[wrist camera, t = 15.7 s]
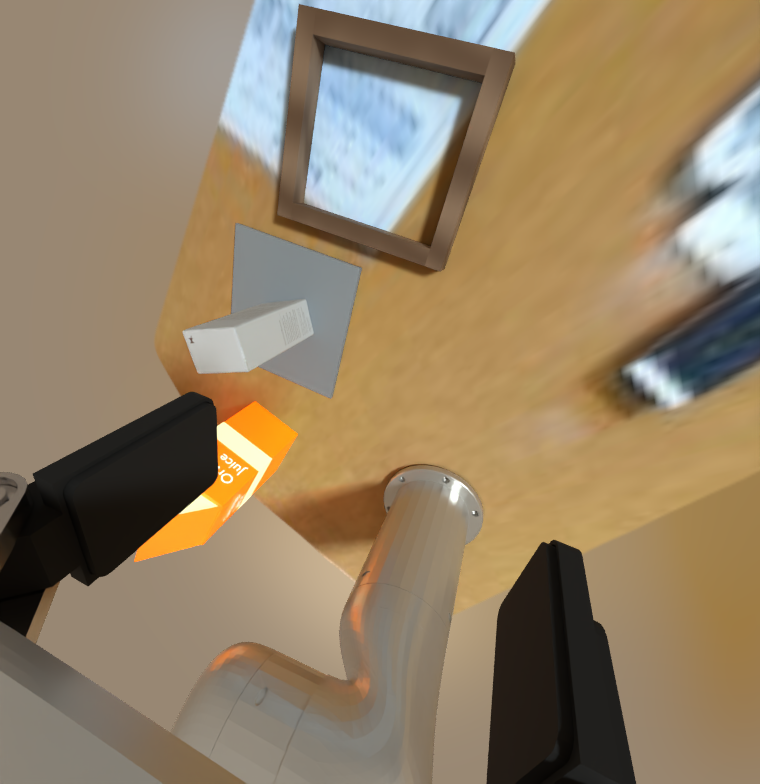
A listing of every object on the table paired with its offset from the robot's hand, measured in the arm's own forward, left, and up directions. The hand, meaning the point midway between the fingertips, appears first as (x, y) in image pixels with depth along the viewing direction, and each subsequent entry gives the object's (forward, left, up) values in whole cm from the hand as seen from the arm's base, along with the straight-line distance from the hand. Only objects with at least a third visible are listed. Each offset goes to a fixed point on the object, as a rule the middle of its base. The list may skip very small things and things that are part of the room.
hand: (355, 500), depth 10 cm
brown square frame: (+9, +12, -29) cm, 32 cm away
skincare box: (-9, +19, -28) cm, 35 cm away
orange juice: (-28, +20, -29) cm, 45 cm away
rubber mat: (-9, +19, -29) cm, 35 cm away
